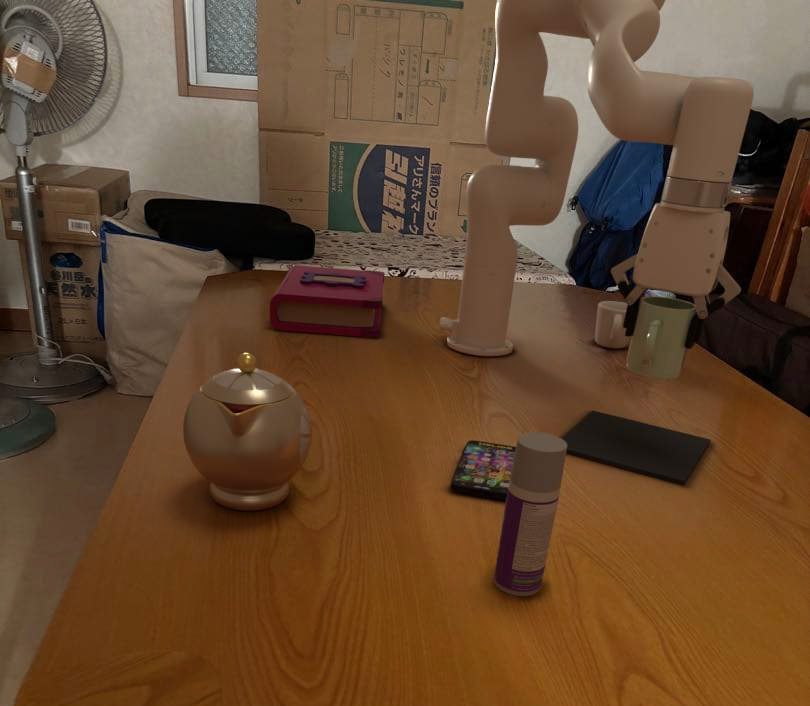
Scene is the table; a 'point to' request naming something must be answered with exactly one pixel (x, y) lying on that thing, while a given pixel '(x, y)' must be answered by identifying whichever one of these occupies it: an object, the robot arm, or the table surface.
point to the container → (529, 513)
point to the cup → (611, 325)
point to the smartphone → (484, 470)
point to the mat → (636, 446)
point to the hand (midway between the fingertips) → (659, 339)
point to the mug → (660, 337)
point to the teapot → (247, 435)
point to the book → (329, 301)
